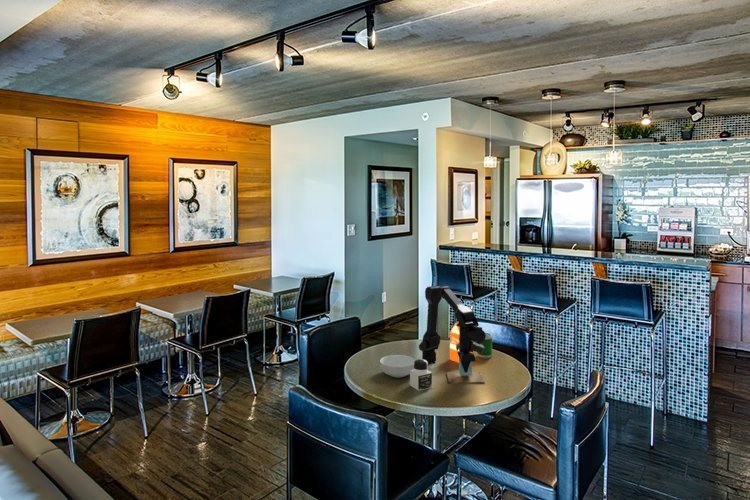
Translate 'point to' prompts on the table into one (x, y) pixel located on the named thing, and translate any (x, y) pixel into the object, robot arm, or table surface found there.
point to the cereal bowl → (397, 365)
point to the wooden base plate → (465, 378)
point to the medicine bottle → (420, 375)
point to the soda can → (486, 347)
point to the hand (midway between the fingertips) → (465, 370)
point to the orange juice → (454, 343)
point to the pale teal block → (461, 370)
